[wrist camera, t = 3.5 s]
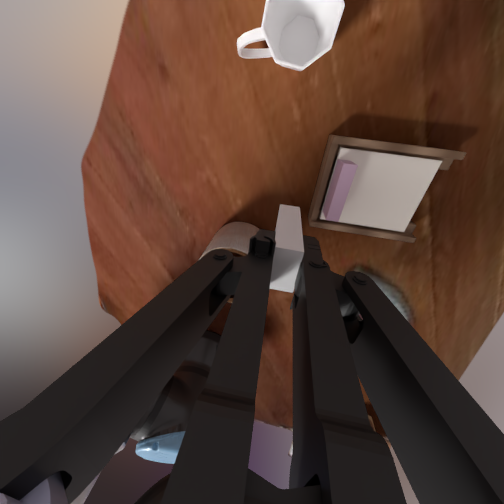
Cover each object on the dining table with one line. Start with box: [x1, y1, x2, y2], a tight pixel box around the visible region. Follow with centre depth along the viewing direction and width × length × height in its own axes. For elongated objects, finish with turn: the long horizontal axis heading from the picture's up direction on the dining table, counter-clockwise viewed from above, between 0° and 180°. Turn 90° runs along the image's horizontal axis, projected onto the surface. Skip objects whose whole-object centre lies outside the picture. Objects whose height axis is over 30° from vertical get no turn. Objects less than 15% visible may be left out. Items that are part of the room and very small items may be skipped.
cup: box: [237, 0, 345, 71], centre depth 22 cm, size 7×10×8 cm
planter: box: [199, 222, 260, 303], centre depth 36 cm, size 11×11×10 cm
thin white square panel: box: [320, 147, 442, 232], centre depth 27 cm, size 12×10×4 cm
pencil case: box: [308, 134, 466, 243], centre depth 30 cm, size 15×12×4 cm
